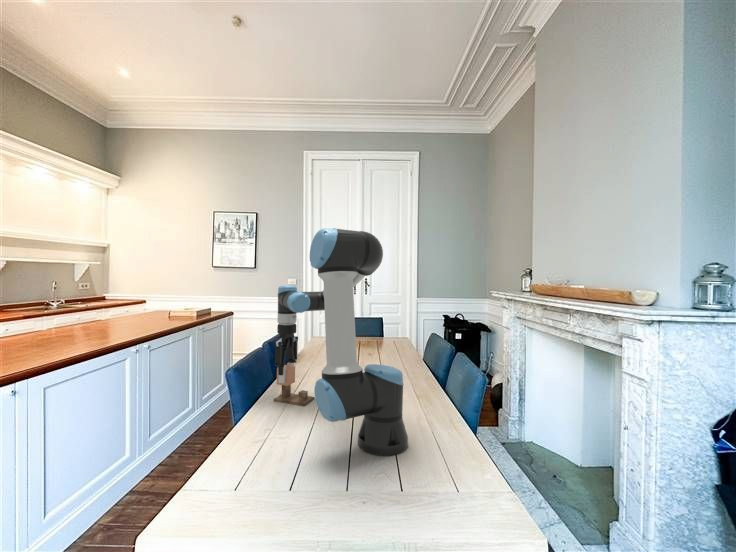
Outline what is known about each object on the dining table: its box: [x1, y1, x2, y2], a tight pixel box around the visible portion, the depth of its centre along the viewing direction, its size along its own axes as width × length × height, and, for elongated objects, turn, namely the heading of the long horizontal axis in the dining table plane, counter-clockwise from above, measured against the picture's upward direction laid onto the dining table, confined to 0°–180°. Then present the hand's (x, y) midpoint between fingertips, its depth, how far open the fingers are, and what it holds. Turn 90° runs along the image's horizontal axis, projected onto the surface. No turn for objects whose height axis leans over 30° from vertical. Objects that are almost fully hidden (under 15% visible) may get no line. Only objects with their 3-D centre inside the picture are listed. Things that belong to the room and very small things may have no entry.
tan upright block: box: [276, 364, 296, 386], centre depth 140 cm, size 5×5×7 cm
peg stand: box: [273, 384, 316, 407], centre depth 139 cm, size 14×8×8 cm, turn 69°
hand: (286, 380), depth 140 cm, fingers closed on tan upright block, 5 cm apart
